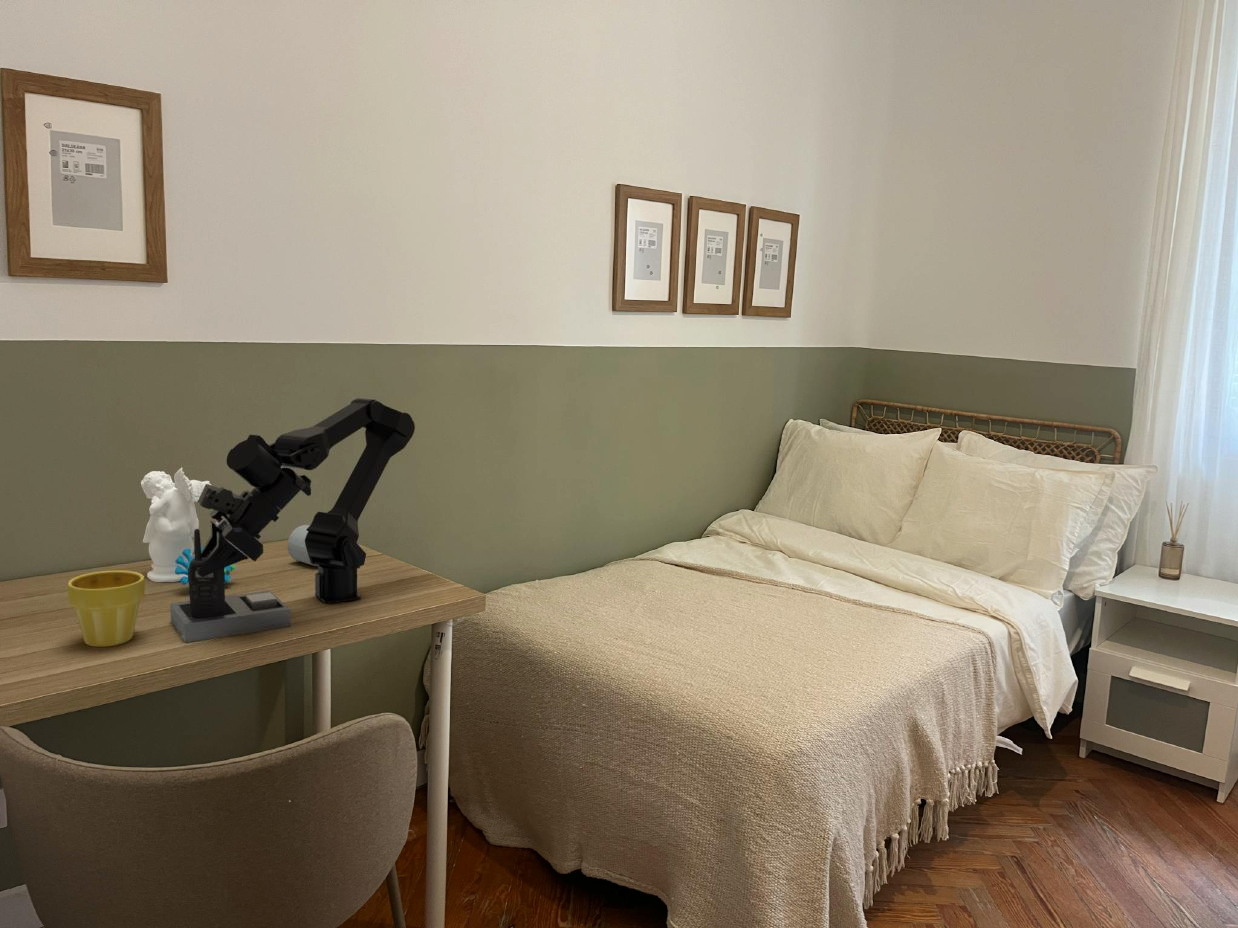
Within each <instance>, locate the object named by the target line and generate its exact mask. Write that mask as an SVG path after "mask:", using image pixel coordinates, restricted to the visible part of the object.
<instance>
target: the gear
mask: <svg viewBox="0 0 1238 928" xmlns="http://www.w3.org/2000/svg"><path fill="white" fill-rule="evenodd" d="M203 548H204V547H202V546H201V551H202V550H203ZM190 553H191V550H190V549H185V550H184V551H183V552H182V554H183V555H184V556H185V557H186V558H187V560H188V563H187V562H185V561H184V558H183V557H182V556H179V557H178V558H177V559H176V561H175V563H177V564H180V565H182V566H184V567H185V568H186V569H187V570H184V569H183V568H182V567H180V566H177V568H176V569H175V574H177V575H179V574H185V575H188V568H189V565H190V562H191V560H192V559H194V558H195V556H192V557H191V556H190ZM193 553H195V551H193ZM236 567H237V563H235V564H232V565H230V566H227V567H225V568H224V571H225V581H224V584H228V582H229V581H230V580H231V579H232V577H231V576H230V574H231V573H230V572H233V571H235V569H236ZM179 582H180V583H181V585H182V586H186V585H187V584H189V582H188V577H185V576H184V577H182V578H181V579H180V581H179Z"/></svg>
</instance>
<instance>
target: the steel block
mask: <svg viewBox="0 0 1238 928" xmlns="http://www.w3.org/2000/svg"><path fill="white" fill-rule="evenodd" d="M273 594H274V593H273ZM273 594H271V593H270V592H269V593H261V594H254V595H246V605H247V606H248V607H249V608H250V609H251V610H252V611H260V610H267V609H274V608H277V598H278V597H277V596H276V595H275V594H274V595H275V596H276V597H277V598H276V597H275V596H274V595H273Z"/></svg>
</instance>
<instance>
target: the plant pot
mask: <svg viewBox="0 0 1238 928" xmlns="http://www.w3.org/2000/svg"><path fill="white" fill-rule="evenodd" d="M145 585H146V584H145V576H144V575H143V574H142V573H139V572H138V571H137V572H136V571H133V570H132V571H131V570H105V571H104V570H102V571H95V572H89V573H85V574H81V575H77V576H75V577H73V578H72V579H70V580H69V581H68V583H67V599H68V605H69V606H71V607H72V608H74V612H75V615H76V619H77V622H78V625H79V628H80V631H81V635H82V638H83V639H82V640H83V643H84V644H86V645H87V646H90V647H94V648H97V647H99V648H100V647H101V648H102V647H103V648H104V647H112V646H117V645H122V644H125V643H127V642H129V641H130V640H132V639H133V636H134V632H135V627H136V622H137V618H138V614H139V608H140V604H141V601H142V600H144V598H145V594H146V593H145V592H146V587H145Z"/></svg>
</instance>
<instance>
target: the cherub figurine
mask: <svg viewBox="0 0 1238 928" xmlns="http://www.w3.org/2000/svg"><path fill="white" fill-rule="evenodd" d="M173 479H174V482H173V480H172V476H171V475H170V474H167V473H166V472H165V471H160V470H158V471H157V470H155V471H154V470H153V471H150V472H148V473H147V474H145V475H144V477H143V478H142V480H141V481H140V486H141V488H142V491H143V493H144V494H145V495H146V496H145V497H146V499H150V501H151V504H150V506H149V508H148V509H149V515H150V517H149V519H148V522H147V524H146V527H145V532H144V536H143V539H142V543H144V544H146V543H149V544H148V555H149V557H150V559H151V560H152V562H153V563H151V564H150V565H151V566H150V567H151V568H152V570H149V571H148V572H147V574H146V576H147V578H148V580H150V581H151V582H155V583H176V582H181V581H180V579H181V578H182V577H184V576H185V577H188V575H185V574H179V575H177V574H175V569H176V568H177V566H180V567H182V568H183V569H184V570H187V569H186V568H185V567H184V566H182V565H180V564H177V563H175V561H176V559H177V558H178V557H179V556H182V557H183V558H184V561H185V562H187V563H188V560H187V558H186V557H185V556H184V555H183V554H182V552H183V551H184V550H185V549H190V550H191V553H190V556H191V557H193V554H194V540H193V538H194V530H195V529H199V527H200V521H199V518H198V515H197V508H196V505H195V503H199V502H198V500H199V498H200V496H201V493H202V491H203V489H204V487H205V485H206V484H209V485H212V484H211V482H210V481H209V480H205V481H201V480H198V479H197V480H196V479H191V480H190V479H189V478H188V476H186V475H185V471H183V467H181V468H179V469H178V470H177V471H176V472H175V473H174V476H173ZM199 530H200V529H199Z"/></svg>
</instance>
